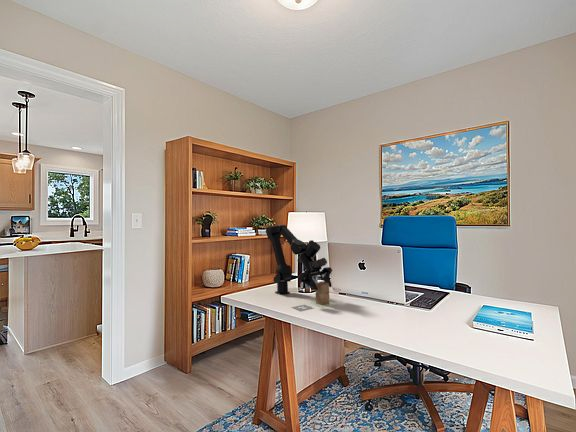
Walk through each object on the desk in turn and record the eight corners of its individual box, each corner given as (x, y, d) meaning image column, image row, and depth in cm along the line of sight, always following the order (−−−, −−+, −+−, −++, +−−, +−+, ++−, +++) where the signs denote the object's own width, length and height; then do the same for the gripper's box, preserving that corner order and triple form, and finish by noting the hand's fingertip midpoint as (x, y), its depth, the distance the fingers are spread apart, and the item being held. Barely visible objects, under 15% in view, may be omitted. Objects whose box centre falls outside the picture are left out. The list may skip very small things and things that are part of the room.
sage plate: (308, 303, 153) (308, 302, 153) (324, 300, 158) (324, 299, 158) (321, 308, 144) (321, 307, 144) (337, 305, 150) (337, 304, 150)
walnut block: (315, 303, 152) (315, 282, 152) (322, 301, 155) (322, 281, 155) (322, 305, 148) (322, 284, 148) (329, 303, 151) (329, 282, 151)
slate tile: (290, 308, 146) (290, 307, 146) (304, 305, 150) (304, 304, 150) (300, 312, 139) (300, 311, 139) (314, 309, 144) (314, 308, 144)
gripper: (301, 254, 149) (318, 281, 140) (329, 251, 160) (346, 275, 152) (291, 268, 155) (306, 295, 146) (319, 264, 167) (334, 289, 158)
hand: (324, 288), depth 150 cm, fingers open, 9 cm apart
